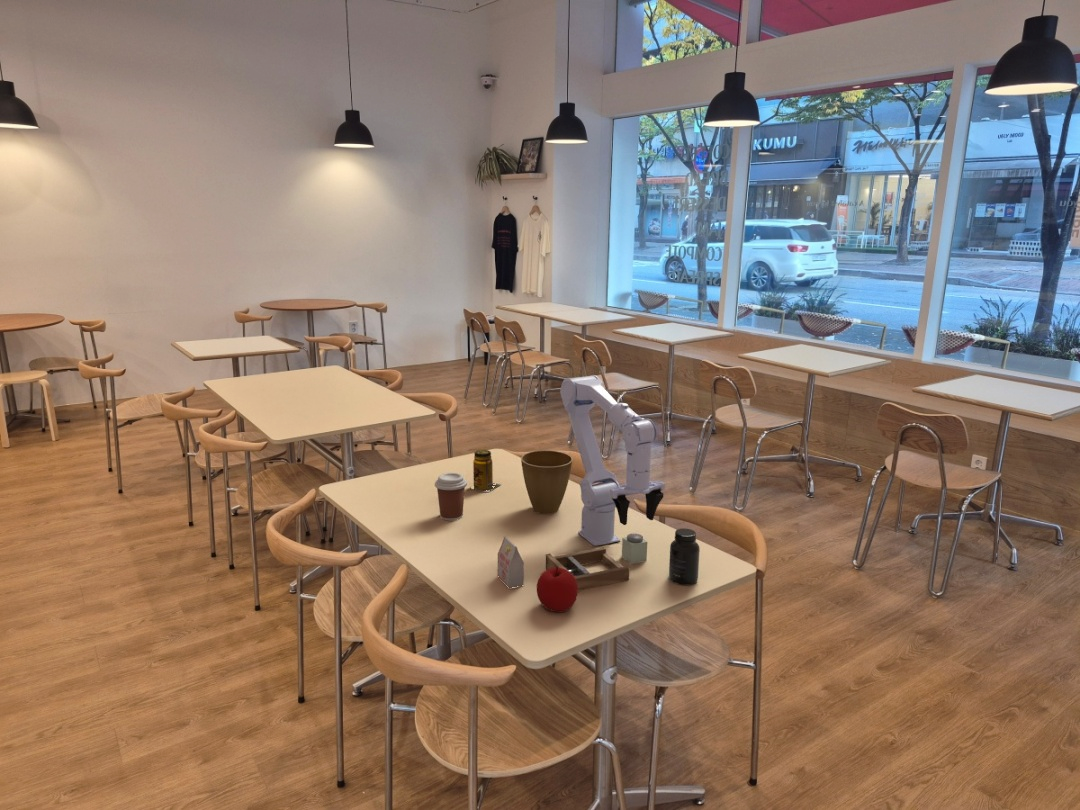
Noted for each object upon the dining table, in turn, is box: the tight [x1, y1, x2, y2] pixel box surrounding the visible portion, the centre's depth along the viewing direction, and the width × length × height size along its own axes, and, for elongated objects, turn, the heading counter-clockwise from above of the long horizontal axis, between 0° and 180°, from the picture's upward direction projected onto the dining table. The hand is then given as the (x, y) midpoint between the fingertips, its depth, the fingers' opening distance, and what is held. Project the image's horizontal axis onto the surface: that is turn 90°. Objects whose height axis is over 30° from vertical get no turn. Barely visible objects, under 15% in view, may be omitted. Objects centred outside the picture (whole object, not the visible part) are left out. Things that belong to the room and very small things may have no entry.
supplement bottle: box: [668, 527, 700, 586], centre depth 172 cm, size 7×7×12 cm
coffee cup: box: [434, 472, 468, 522], centre depth 208 cm, size 9×9×12 cm
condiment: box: [468, 449, 502, 493], centre depth 231 cm, size 7×8×12 cm
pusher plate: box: [566, 556, 591, 576], centre depth 173 cm, size 9×5×3 cm, turn 24°
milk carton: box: [497, 536, 525, 589], centre depth 170 cm, size 4×7×10 cm, turn 26°
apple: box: [536, 567, 579, 613], centre depth 159 cm, size 9×9×10 cm
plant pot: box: [520, 449, 574, 515], centre depth 213 cm, size 15×15×16 cm
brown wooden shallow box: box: [544, 547, 630, 591], centre depth 175 cm, size 12×16×4 cm
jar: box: [621, 533, 648, 565], centre depth 183 cm, size 4×4×6 cm
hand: (636, 521), depth 181 cm, fingers open, 7 cm apart
